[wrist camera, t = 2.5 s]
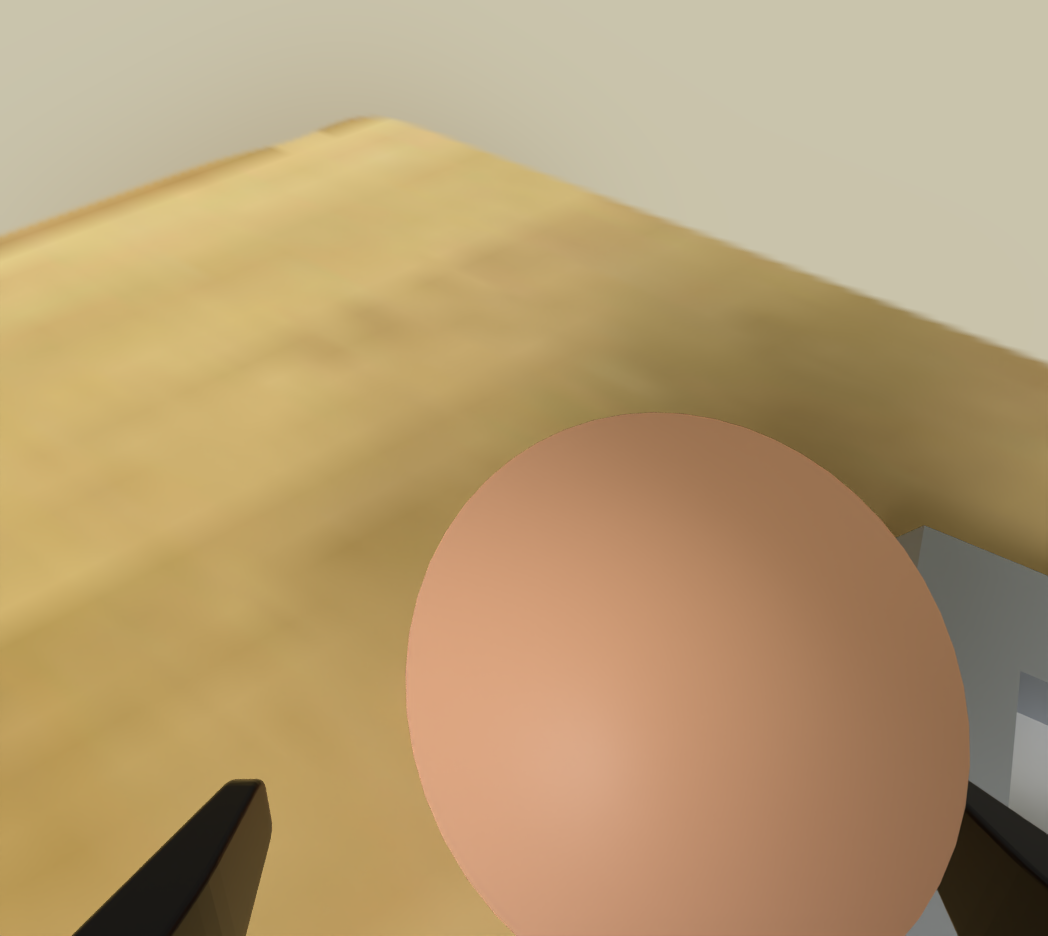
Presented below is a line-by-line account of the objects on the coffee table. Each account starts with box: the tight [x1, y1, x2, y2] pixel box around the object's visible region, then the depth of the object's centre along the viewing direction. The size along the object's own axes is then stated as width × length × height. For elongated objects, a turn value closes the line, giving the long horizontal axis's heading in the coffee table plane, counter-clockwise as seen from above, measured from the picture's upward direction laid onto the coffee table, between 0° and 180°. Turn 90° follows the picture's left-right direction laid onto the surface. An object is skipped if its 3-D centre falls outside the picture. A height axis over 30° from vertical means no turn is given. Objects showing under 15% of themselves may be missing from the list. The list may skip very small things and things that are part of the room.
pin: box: [406, 412, 970, 936], centre depth 11 cm, size 4×4×14 cm
